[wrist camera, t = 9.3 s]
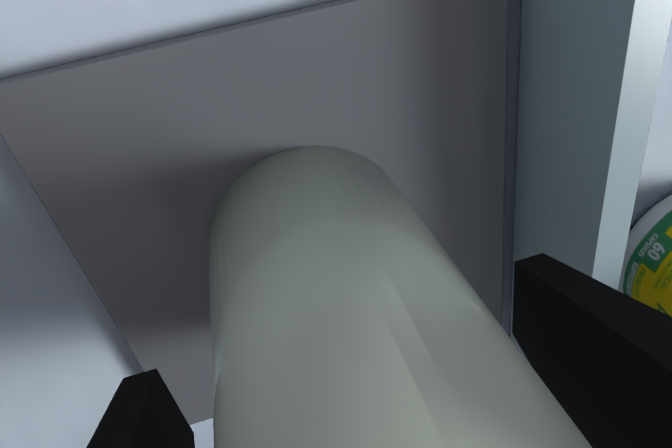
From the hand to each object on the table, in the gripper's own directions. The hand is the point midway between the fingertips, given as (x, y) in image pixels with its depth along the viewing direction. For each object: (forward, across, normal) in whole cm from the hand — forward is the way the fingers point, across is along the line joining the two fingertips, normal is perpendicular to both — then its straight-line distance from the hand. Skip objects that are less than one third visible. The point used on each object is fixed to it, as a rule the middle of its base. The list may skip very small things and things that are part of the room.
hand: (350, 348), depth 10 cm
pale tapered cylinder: (+4, 0, 0) cm, 4 cm away
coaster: (+4, 0, 0) cm, 5 cm away
